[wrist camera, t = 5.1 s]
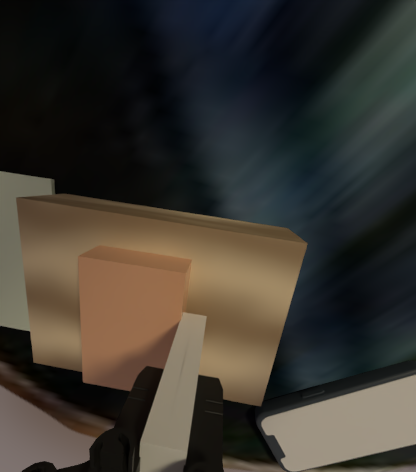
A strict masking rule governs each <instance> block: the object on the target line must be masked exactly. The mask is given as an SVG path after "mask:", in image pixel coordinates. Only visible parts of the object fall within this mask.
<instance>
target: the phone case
mask: <svg viewBox="0 0 416 472" xmlns="http://www.w3.org/2000/svg"><path fill="white" fill-rule="evenodd" d="M255 419H256V424H257V426H258V428H259V430H260V432H261V433H262V435H263V437H264V439H265V440H266V442H267V444H268V446H269V447H270V449H271V451H272V453H273V454H274V456H275V458H276V460H277V461H278V463H279V465H280V467H281V468H282V469H283V470H285V471H287V472H300V471H304V470H308V469H313V468H317V467H321V466H326V465H330V464H334V463H339V462H343V461H347V460H352V459H356V458H360V457H365V456H369V455H373V454H378V453H382V452H386V451H391V450H395V449H399V448H404V447H408V446H412V445H416V361H413V360H412V361H405V362H402V363H398V364H394V365H391V366H387V367H383V368H380V369H376V370H372V371H369V372H365V373H362V374H358V375H354V376H351V377H347V378H344V379H340V380H336V381H333V382H329V383H326V384H322V385H318V386H315V387H311V388H308V389H304V390H301V391H297V392H294V393H290V394H287V395H283V396H280V397H277V398H273V399H270V400H266V401H263V402H262V404H261V406H256V407H255Z"/></svg>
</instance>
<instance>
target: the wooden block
mask: <svg viewBox="0 0 416 472" xmlns="http://www.w3.org/2000/svg"><path fill="white" fill-rule="evenodd" d="M16 203H17V212H18V222H19V231H20V240H21V249H22V259H23V268H24V277H25V286H26V296H27V305H28V314H29V323H30V332H31V342H32V351H33V360H34V363H39V364H44V365H49V366H55V367H60V368H65V369H70V370H75V371H80V372H83V370H82V345H81V320H80V295H79V271H78V256H79V255H81V254H83V253H85V252H87V251H89V250H91V249H93V248H95V247H97V246H99V245H102V246H109V247H115V248H121V249H128V250H134V251H141V252H147V253H154V254H160V255H166V256H173V257H179V258H186V259H192V263H191V272H190V280H189V289H188V297H187V305H186V313H191V314H197V315H203V316H207V318H206V325H205V332H204V339H203V346H202V353H201V360H200V367H199V374H198V375H204V376H209V377H215V378H219V380H220V382H221V385H222V388H223V399H225V400H230V401H235V402H241V403H246V404H251V405H256V406H261V404H262V401H263V397H264V394H265V390H266V387H267V383H268V380H269V376H270V373H271V369H272V366H273V362H274V359H275V355H276V352H277V348H278V345H279V342H280V338H281V335H282V331H283V328H284V324H285V321H286V317H287V314H288V310H289V307H290V303H291V300H292V296H293V293H294V289H295V286H296V282H297V279H298V275H299V272H300V268H301V265H302V261H303V258H304V254H305V251H306V247H307V243H306V242H305V241H303V240H302V239H301V238H300V237H298V236H297V235H296V234H294V233H293V232H292V231H290V230H289V229H288V228H282V227H276V226H269V225H263V224H256V223H250V222H244V221H237V220H231V219H224V218H218V217H211V216H205V215H199V214H192V213H186V212H179V211H173V210H166V209H160V208H154V207H147V206H141V205H134V204H128V203H121V202H115V201H109V200H102V199H96V198H89V197H83V196H76V195H70V194H53V195H41V196H28V197H16Z"/></svg>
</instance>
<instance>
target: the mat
mask: <svg viewBox="0 0 416 472" xmlns="http://www.w3.org/2000/svg"><path fill="white" fill-rule="evenodd" d="M53 194H55V185H54V179H48V178H41V177H35V176H28V175H22V174H15V173H9V172H2V171H0V326H5V327H10V328H16V329H21V330H26V331H30V323H29V314H28V305H27V296H26V286H25V277H24V268H23V259H22V249H21V240H20V231H19V222H18V212H17V203H16V197H28V196H41V195H53Z"/></svg>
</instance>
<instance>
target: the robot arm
mask: <svg viewBox="0 0 416 472" xmlns="http://www.w3.org/2000/svg"><path fill="white" fill-rule="evenodd" d="M206 318H207V316H203V315H197V314H191V313H185V312H183V315H182V318H181V321H180V322H179V326H178V329H177V332H176V335H175V338H174V341H173V344H172V347H171V350H170V353H169V356H168V359H167V362H166V365H165V368H164V369H162V368H156V367H151V366H146V367H145V368H144V369H143V370H142V371H141V372H140V373H139V374H138V376H137V378H136V380H135V382H134V384H133V387H132V389H131V391H130V393H129V395H128V398H127V400H126V402H125V404H124V406H123V409H122V411H121V413H120V415H119V417H118V420H117V422H116V424H115V426H114V428H112V429H110V430H108V431H105V432H104V433H103V434H102V435H100V436H99V437H98V438H97V439H96V440H95V442H94V443H93V445H92V446H91V448H90V449H89V450H90V460H89V461H87V462H85V463H82V464H79V465H75V466H71V467H67V468H63V469H58V470H57V469H56V468H55V466H54V465H53V463H49V462H45V461H44V462H39V463H35V464H33V465H31V466H29V467H28V468H26V469H24V470H23V471H22V472H224V470H223V463H222V444H223V388H222V385H221V382H220V380H219V378H215V377H209V376H204V375H198V374H199V367H200V360H201V353H202V346H203V339H204V332H205V325H206Z"/></svg>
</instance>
